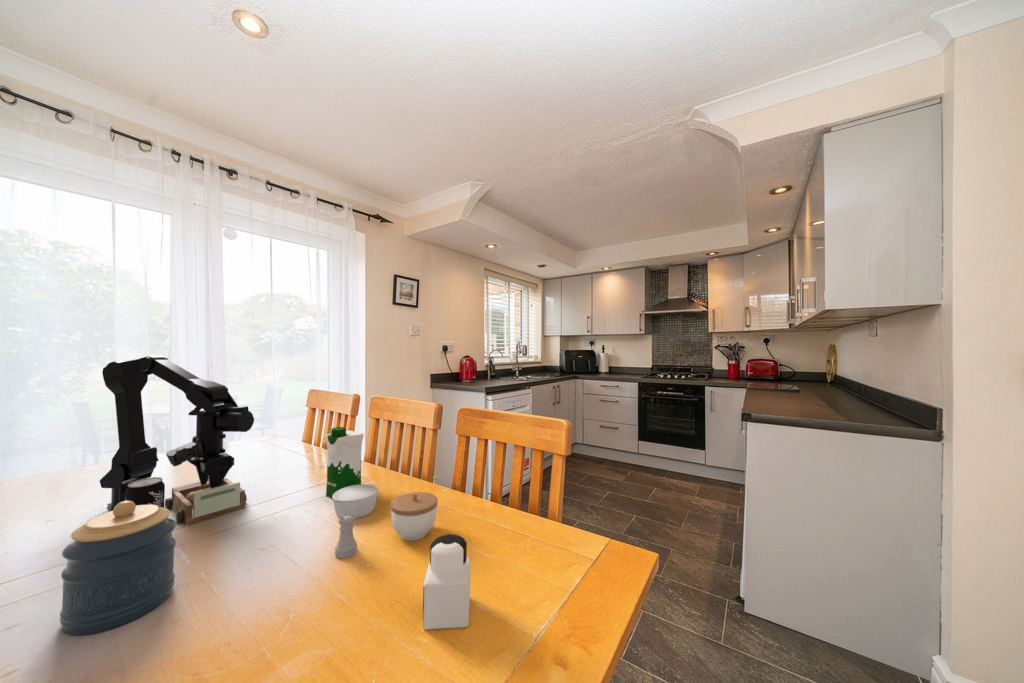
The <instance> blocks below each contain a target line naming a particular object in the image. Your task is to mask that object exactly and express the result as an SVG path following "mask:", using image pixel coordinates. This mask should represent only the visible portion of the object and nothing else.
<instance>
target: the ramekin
mask: <svg viewBox="0 0 1024 683" xmlns="http://www.w3.org/2000/svg"><path fill="white" fill-rule="evenodd" d="M378 494H379V488H378V487H377V486H375V485H373V484H367V483H364V484H362V483H361V484H360V485H353V486H348V487H345V488H342V489H340V490H338V491H336V492H335V493H334V494H333V496H332V498H331V499H332V502H333V505H334V511H335V514H336V516H337V517H339V518H340V517H341V515H343V516H344V514H346V513H347V515H349V513H351V514H353V517H354V518H355V519H358V518H361V517H365V516H367V515H369V514H371V513H372V511H373V510H374V509H375V507H376V502H377V496H378Z"/></svg>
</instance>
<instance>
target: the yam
mask: <svg viewBox="0 0 1024 683" xmlns="http://www.w3.org/2000/svg"><path fill="white" fill-rule="evenodd" d="M207 489H210V488H206V489H202V490H198V491H203V490H207ZM198 491H194V492H198ZM194 492H191V493H189V494H188V495H187V496H186V499H187V500H188V501H189V502H190V503H191V504H193V503H194Z"/></svg>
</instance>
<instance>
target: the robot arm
mask: <svg viewBox="0 0 1024 683" xmlns="http://www.w3.org/2000/svg"><path fill="white" fill-rule="evenodd" d="M101 374H102V379H103V382H104V385H105V387H106V388H107V389H109V391H110V392H111V393H112V394H113V395H114V402H115V412H116V413H115V414H116V423H117V424H116V425H117V435H118V445H119V446H118V449H117V451H116V453H115V454H114V456H113V457H112V459H111V469H110V470H109V471H107V472H106V474H105V475H104V476H102V478H101V479H99V484H100V487H101V488H102V489H111V497H110V498H111V499H110V500H111V501H110V503H107V504H106V505H107V508H108V509H109V512H110V511H113V509H114V507H115V506H116V505H117V504H118V503H120V502H123V501H125V491H126V489H127V488H128V484H129V483H131V482H134V481H137V480H141V479H145V478H152V475H153V473H154V470H155V469H156V467H157V463H158V462H159V457H158V448H157V446H154V447H151V446H150V445H149V444H148V443H147V441H146V432H145V423H144V422H145V420H144V410H143V402H142V401H143V398H142V391H143V390H144V388H145V386H146V385H147V383H148V380H149V376H150V375H154V376H155V377H158V378H159V379H161V380H163V381H165V382H166V383H168V384H169V385H172V386H173V387H175V388H176V389H178V390H179V391H181V392H183V393H184V394H185V398H186V400H188V401H189V403H191V404H192V405H193V406H195V408H194V409H192V410H190V412H188V416H196V427H195V428H196V429H195V431H196V432H195V435H193V437H192V438H191V442H188V443H185V444H183V445H181V446H177V447H176V448H174V449H171V450H169V451H167V452H166V453H165V455H166V457H167V459H168V462H169V463H170V464H171V465H172V467H177V466H180V465H182V464H183V463H185V462H186V461H187V462H188V463H189V464H191V465H193V466H194V467H195V469H196V473H197V476H198V479H199V482H200V483H201V485H205V484H206V483H207V481H208V480H209V485H210V489H211V488H215V487H219V486H220V485H221V483H222V481H223V479H226V476H227V475H228V473H229V470H231V469H232V468H233V466H235V457H234V456H232V455H230V454H228V453H226V448H224V439H226V438H227V437H226V436H227V435H226V433H230V432H231V433H233V432H234V433H247V432H248V431H251V429H252V427H253V425H254V422H255V416H254V414H253V413H252V412H251V411H250V410H249V406H247V405H246V406H239V405H238V404H237V402H236V401H235V399H234V398H233V397H232V395H231V394H230V392H229V388H228V387H227V386H226V385H224V384H220V383H218V382H215V381H211V380H208V379H207V380H206V379H203V378H200V377H198V376H197V375H195V374H193V373H191V372H189V371H188V370H186V369H184V367H181V366H180V365H178V364H176V363H174V362H172V361H171V360H170V359H169V358H168V357H166V356H163V355H146V356H144V357H141V358H137V359H132V360H125V361H123V360H122V361H112V362H108V363H107V364H106V365H105V367H103V368H102V372H101ZM224 432H226V433H224Z"/></svg>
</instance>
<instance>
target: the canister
mask: <svg viewBox="0 0 1024 683" xmlns="http://www.w3.org/2000/svg"><path fill="white" fill-rule="evenodd" d="M170 515H171V511H170V509H169V508H168V509H166V508H165V507H164V508H162V507H159V506H157V505H137V506H135V503H134V502H133V501H123V502H120V503H118V504H117V505H116V506H115V507H114V509H113V511H110V510H109V511H107V512H104V513H101V514H99V515H97V516H95V517H93V518H90V519H89V520H87V521H86V523H84V524H83V525H81V526H79V527H78V528H76V529H75V530H74V531H72V532H71V540H73V541H72V542H70V543H69V544H68V545H67V546H65V547H64V549H63V550H62V552H61V555H62V557H63V558H64V559H65V560H67V562H66V566H65V567H64V568H63V570H62V572H61V573H60V574H61V576H60V578H61V579H62V598H61V599H62V604H61V605H62V606H61V607H62V608H61V610H60V613H59V616H60V618H59V622H60V624H61V627H62V628H61V629H62V631H63V633H66V634H69V635H73V636H75V635H76V636H78V635H79V636H81V635H90V634H91V635H92V634H95V633H96V634H97V633H100V632H105V631H107V630H110V629H114V628H117V627H120V626H122V625H125V624H127V623H130V622H132V621H134V620H136V619H138V618H141V617H142V616H144V615H146V614H148V613H149V612H151V611H153V610H154V609H156V608H158V607H159V606H160V605H161V604H162V603H163V602H165V601H166V600H167V599H168V598H169V596H170V595H171V593H172V592H173V586H174V585H175V576H176V575H175V573H174V570H175V569H174V565H175V564H174V563H175V561H174V560H175V546H176V544H177V543H176V540H175V538H174V537H173V534H172V533H173V531H174V529H175V528H176V527H177V521H175V520H174V519H172V518H169V517H170Z"/></svg>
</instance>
